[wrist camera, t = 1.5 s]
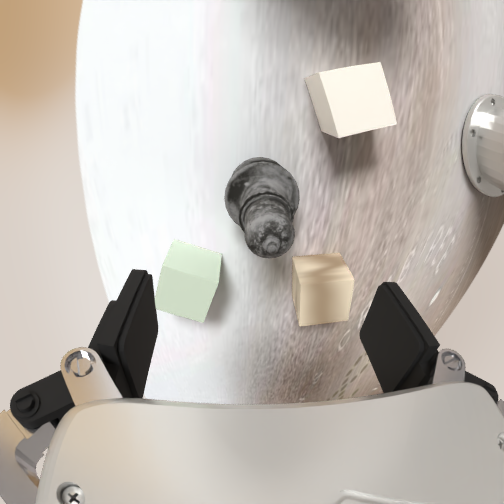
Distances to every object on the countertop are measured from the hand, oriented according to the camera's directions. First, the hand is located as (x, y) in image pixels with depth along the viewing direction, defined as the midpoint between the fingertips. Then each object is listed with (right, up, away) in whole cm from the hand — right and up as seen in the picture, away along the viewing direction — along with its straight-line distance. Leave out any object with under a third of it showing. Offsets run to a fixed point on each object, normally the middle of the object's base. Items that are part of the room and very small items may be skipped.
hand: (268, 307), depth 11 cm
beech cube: (+6, 0, +19) cm, 20 cm away
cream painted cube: (+7, +16, +10) cm, 20 cm away
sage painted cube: (-7, +1, +18) cm, 19 cm away
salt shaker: (0, +8, +14) cm, 17 cm away
